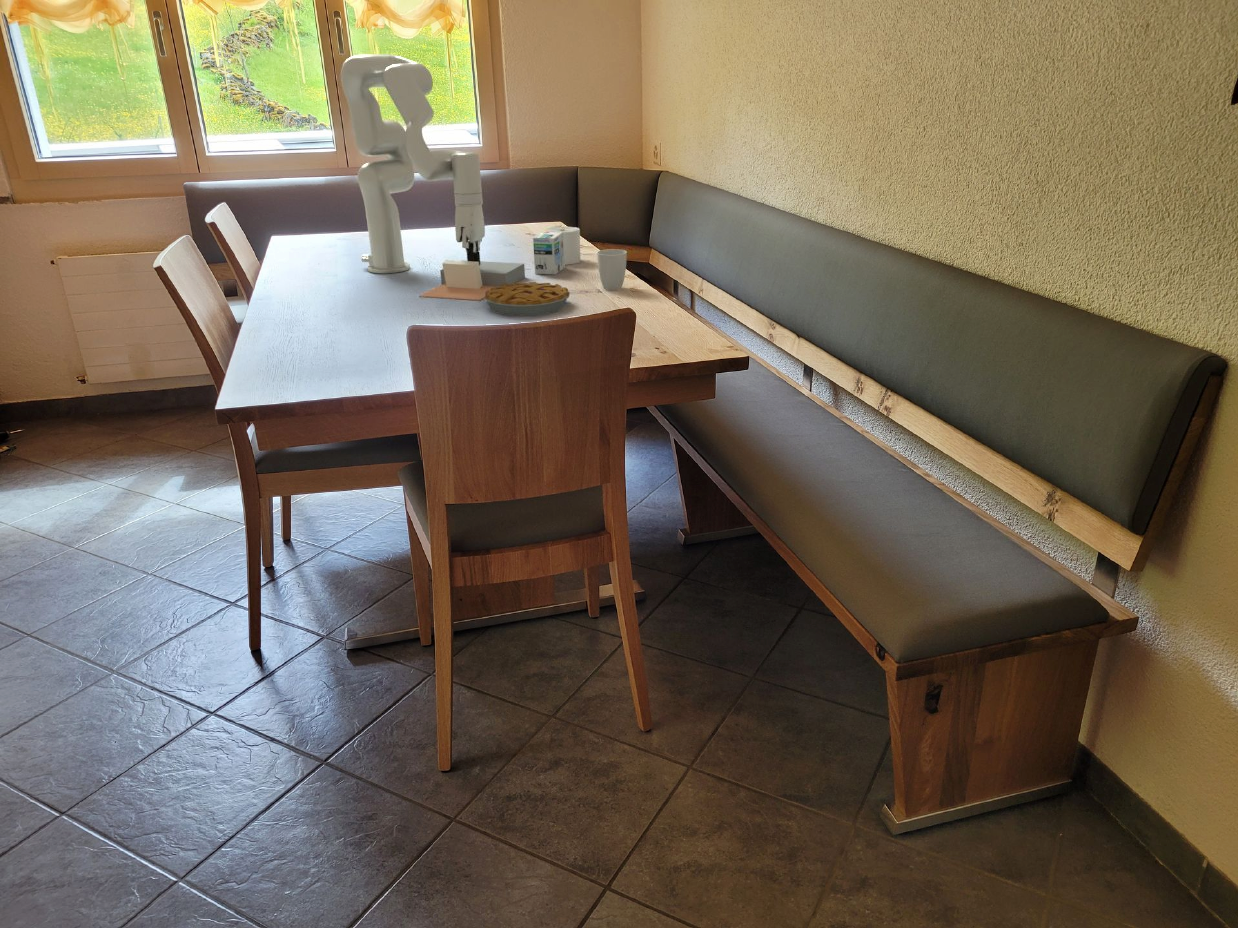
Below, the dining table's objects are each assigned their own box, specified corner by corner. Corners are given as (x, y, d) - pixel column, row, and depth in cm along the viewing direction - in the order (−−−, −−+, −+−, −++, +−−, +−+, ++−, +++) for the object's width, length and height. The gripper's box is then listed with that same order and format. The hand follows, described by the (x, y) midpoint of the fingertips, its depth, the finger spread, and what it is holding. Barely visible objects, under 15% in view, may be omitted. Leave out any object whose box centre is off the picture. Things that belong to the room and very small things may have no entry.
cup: (630, 286, 246) (630, 250, 242) (621, 292, 239) (621, 255, 235) (603, 284, 249) (603, 248, 245) (593, 290, 242) (592, 254, 238)
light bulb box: (555, 275, 260) (554, 238, 256) (534, 274, 262) (532, 237, 257) (565, 267, 270) (563, 231, 265) (544, 267, 271) (542, 231, 267)
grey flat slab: (441, 284, 251) (440, 270, 250) (463, 273, 263) (462, 260, 262) (506, 288, 246) (505, 273, 244) (525, 277, 258) (524, 263, 256)
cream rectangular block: (450, 283, 249) (446, 287, 247) (445, 260, 245) (442, 263, 243) (482, 285, 246) (479, 289, 244) (478, 261, 242) (475, 265, 240)
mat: (419, 296, 238) (419, 295, 238) (444, 284, 251) (444, 283, 251) (479, 300, 233) (479, 299, 233) (502, 288, 246) (502, 286, 246)
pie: (536, 322, 214) (535, 302, 212) (467, 311, 224) (466, 292, 222) (586, 303, 231) (585, 284, 228) (520, 293, 241) (519, 275, 239)
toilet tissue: (560, 266, 271) (559, 233, 267) (537, 261, 279) (536, 229, 275) (587, 261, 277) (586, 229, 273) (564, 256, 286) (563, 225, 281)
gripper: (467, 195, 250) (473, 260, 257) (444, 203, 237) (450, 271, 244) (492, 196, 248) (496, 261, 255) (469, 203, 235) (475, 272, 242)
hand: (474, 266), depth 250 cm, fingers closed
